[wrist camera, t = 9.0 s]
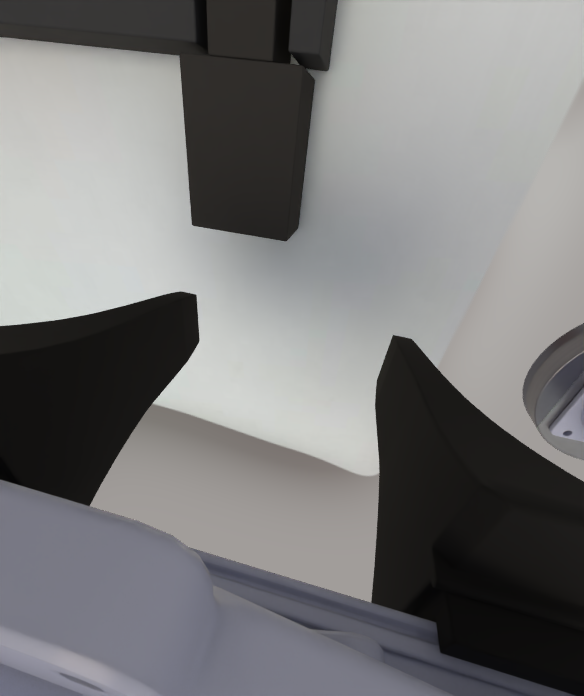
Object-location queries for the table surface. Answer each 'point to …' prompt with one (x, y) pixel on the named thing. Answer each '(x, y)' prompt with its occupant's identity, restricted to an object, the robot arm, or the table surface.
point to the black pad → (246, 121)
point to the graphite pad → (156, 25)
